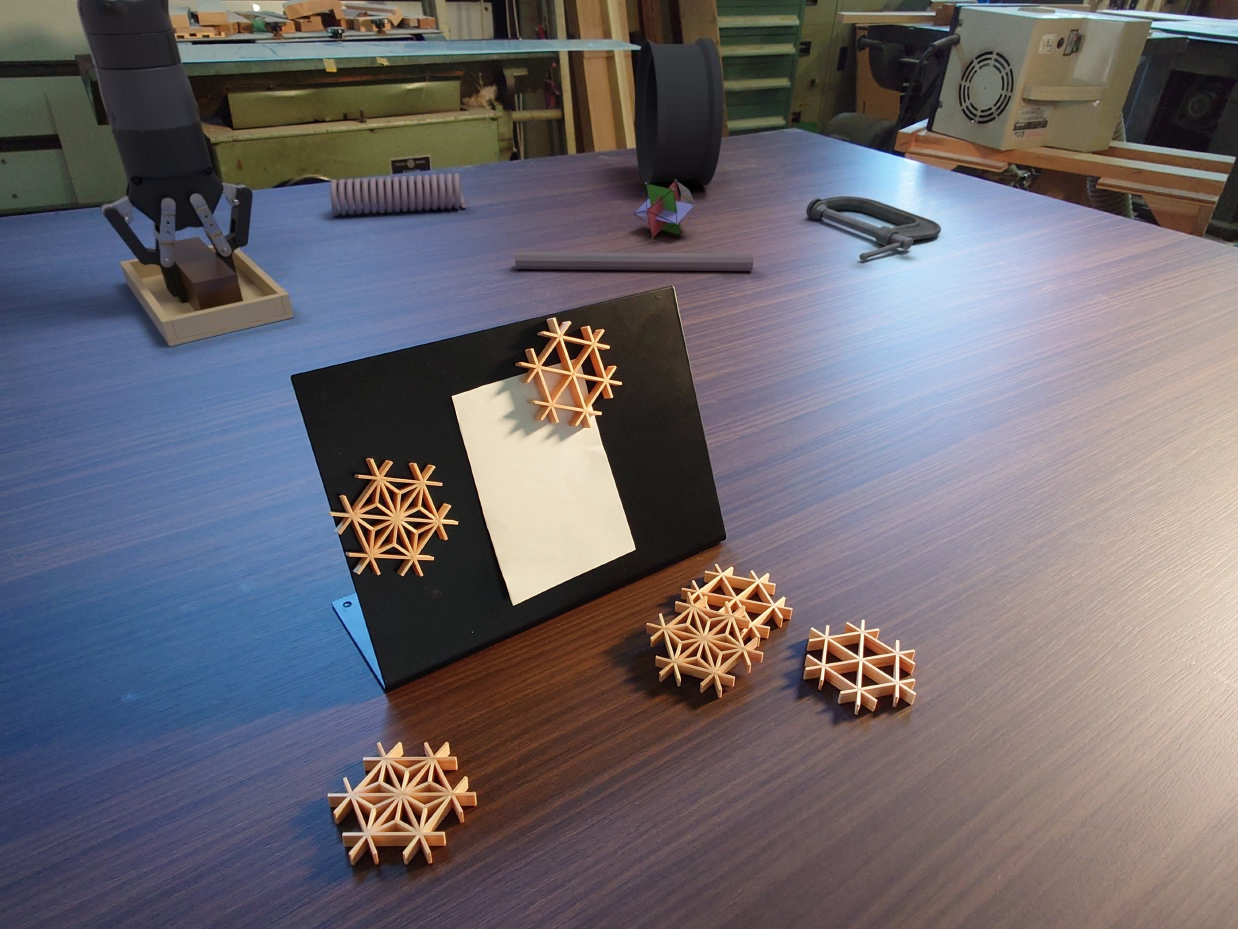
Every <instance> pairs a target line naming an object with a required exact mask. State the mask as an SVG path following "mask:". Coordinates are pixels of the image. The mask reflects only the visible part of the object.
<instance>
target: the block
mask: <svg viewBox="0 0 1238 929" xmlns="http://www.w3.org/2000/svg"><path fill="white" fill-rule="evenodd" d="M208 246H209V245H208V244H206V243H205V242H204V241H203V240H202V239H201V238H200V237H199V236H194V237H189V238H183V239H177V240H175V244H174V263H175V264H176V265H177V266H178V269H179V272H180V276H181V279H182V282H183V286H184V289H185V292H186V295H187V299H188V300H187V301H188V302H189V304H190V305H191V306H192V307H193V309H194V310H195V311H200V310H205V309H209V308H214V307H219V306H223V305H228V304H232V303H237V302H242V301H243V298H242V294H241V290H240V286H239V282H238V279H237V275H236V273H235V272H234V271H233V270H232V269H231V268H229V267H228V266H227V265H226V264H225V263H224V262H223V261H222V260H221V259H220V258H219V257H218V256H217V255H216V254H215V253H214V252H213V251H212V250H211V249H210V248H209V247H208Z"/></svg>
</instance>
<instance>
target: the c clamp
mask: <svg viewBox="0 0 1238 929" xmlns="http://www.w3.org/2000/svg"><path fill="white" fill-rule="evenodd" d="M837 210H850V211H856V212H861V213H864V214H865V213H866V214H868V215H871V216H874V217H876V218H878V219H881V220H884V221H887V222H890V223H892V224H895V225H897V226H894V227H889V226H886V225H882V226H881V227H879V226H877V225H873V224H871V223H868V222H866V221H863V220H860V219H858V218H855V217H852V216H850V215H847V214H844V213H841V212H838V211H837ZM805 211H806V216H807V217H808V218H809V219H811V220H820V219H823V218H824V219H825V220H827V221H829V222H832V223H835V224H837V225H839V226H843V227H845V228H848V229H850V230H853V231H854V232H855V231H856V232H857V233H861V234H863V235H866V236H869V237H870V238H873V239H875V242H876V243H878V244H880V245H882V246H883V247H879V248H877V249H873V250H871V251H866V252H861V253H860V254H859V257H858V258H859V260H860V261H866V260H867V259H869V258H872V257H875V256H879V255H882V254H884V253H887V252H891V251H893V250H897V249H902V250H905V251H907V250H909V249H910V248H911V247H912V245H913V244H914V240H915V241H916V240H923V239H929V238H934V237H936V236H939V235H940V233H941V231H942V227H941V225H940V224H939V223H938V222H936V221H934V220H932V219H930V218H927V217H924V216H920V215H918V214H915V213H913V212H909V211H907V210H904V209H901V208H898V207H895V206H892V205H889V204H887V203H884V202H882V201H878V200H874V199H872V198H871V199H870V198H866V197H862V196H861V197H859V196H849V195H840V196H832V197H826V198H822V199H821V198H818V197H817V198H814V199H812V200H811V201H810V202H809V203H808V204H807V207H806V210H805Z"/></svg>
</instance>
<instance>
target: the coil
mask: <svg viewBox="0 0 1238 929" xmlns="http://www.w3.org/2000/svg"><path fill="white" fill-rule="evenodd" d="M329 189H330V190H329V193H330V204H331V212H332V215H333V216H334V217H337V216H339V213H340V215H341V216H346V215H347V213H348V215H350V216H353V215H354V214H356V215H362V213H364V214H365V215H368V214H370V213H372V214H374V215H375V214H377V212H379V213H380V214H384V213H385V211H386V212H387V213H388V214H390V213H392V212H393V211H394V212H395V213H399V212H400V210H401V212H403V213H406V212H407V211H408V210H409V211H410V212H414V211H415V209H416V210H417V211H418V212H420V211H422V210H423V209H424V210H425V211H430V209H431V210H433V211H436V210H437V209H440V210H445V208H446V209H447V210H451V209H452V208H454V209H456V210H457V209H459V208H460V207H461V208H462V209H465V208H467V207H468V204H467V202H466V201H465V197H464V194H463V188H462V182H461V176H460V173H458V172H455V173H453V174H452V173H451V172H450V173H448V172H447V174H446V175H445V174H444V173H440V174H439V175H437V174H436V173H433V174H431V176H430V175H429V174H425V175H423V176H422V175H421V174H417V175H416V176H414V175H413V174H410V175H409V176H408V177H407V176H406V175H402V176H401V178H400V177H399V176H398V175H395V176H393V178H392V177H391V176H387V177H385V178H384V177H383V176H379V177H378V178H376V177H374V176H373V177H372V176H371V177H370V179H369V178H368V177H364V178H359V177H356V178H355V179H353V178H347V179H346V180H345V179H344V178H340V179H339V180H337V179H335V178H333V179H332V180H331V181H330V187H329Z"/></svg>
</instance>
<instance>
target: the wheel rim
mask: <svg viewBox="0 0 1238 929" xmlns="http://www.w3.org/2000/svg"><path fill="white" fill-rule="evenodd" d="M723 80H724V79H723V71H722V63H721V58H720V53H719V49H718V47H717V45H716V42H715V41H714V40H713V39H712V38H708V37H700V38H698V39H696V40H695V42H694V43H668V44H667V43H666V44H665V43H663V44H662V43H661V44H660V43H659V44H657V43H655V42H654V41H652V40H651V39H649V38H647V39H646V38H645V39H644V40H643V41H642V43H641V46H640V49H639V53H638V58H637V65H636V73H635V85H634V134H635V135H634V139H635V152H636V162H637V167H638V172H639V176H640V180H641V182H642V185H643V186H644V187H647V186H646V184H645V183H647V184H652V185H654V184H655V182H657V183H663V182H665V181H667V182H675V181H674V180H676V181H678V182H692V184H693V185H695V186H698V187H702V186H709V184H710V183H711V182H712V180H713V178H714V175H715V173H716V170H717V166H718V162H719V158H720V157H719V156H720V153H721V147H722V139H723V137H722V136H723V129H724V128H723V127H724V83H723Z"/></svg>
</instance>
